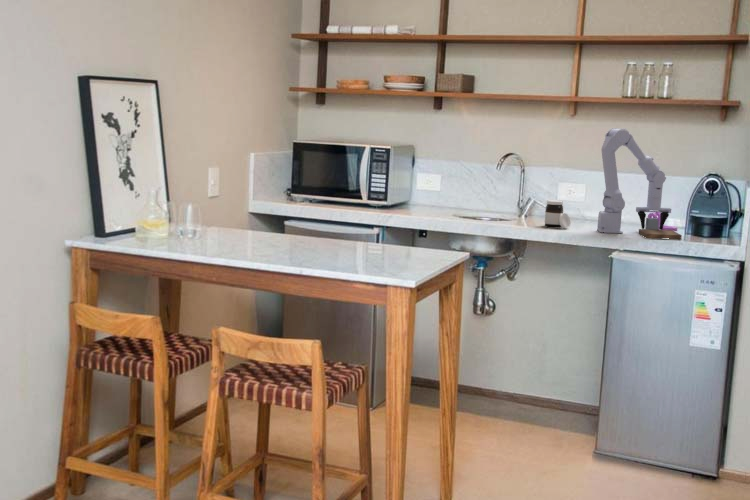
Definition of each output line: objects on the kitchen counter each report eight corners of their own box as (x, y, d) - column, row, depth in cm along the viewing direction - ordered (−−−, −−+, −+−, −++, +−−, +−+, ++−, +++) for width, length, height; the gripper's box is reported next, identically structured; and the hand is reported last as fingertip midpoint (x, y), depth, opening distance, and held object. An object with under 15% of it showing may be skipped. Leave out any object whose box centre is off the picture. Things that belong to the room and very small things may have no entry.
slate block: (647, 232, 366) (648, 219, 365) (645, 231, 371) (646, 217, 370) (658, 233, 366) (659, 219, 365) (655, 231, 370) (656, 218, 369)
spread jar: (545, 224, 382) (547, 199, 380) (571, 226, 379) (573, 200, 377) (542, 228, 371) (544, 201, 369) (569, 230, 367) (570, 203, 365)
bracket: (646, 227, 383) (648, 212, 381) (653, 227, 386) (654, 211, 385) (672, 231, 373) (674, 216, 372) (679, 230, 376) (681, 215, 375)
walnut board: (646, 238, 349) (646, 233, 349) (638, 233, 363) (638, 229, 362) (681, 240, 348) (681, 235, 348) (671, 234, 362) (672, 230, 362)
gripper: (639, 198, 362) (637, 229, 365) (674, 199, 361) (671, 230, 364) (635, 196, 369) (633, 227, 371) (669, 197, 368) (667, 228, 371)
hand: (651, 228), depth 368 cm, fingers open, 7 cm apart
